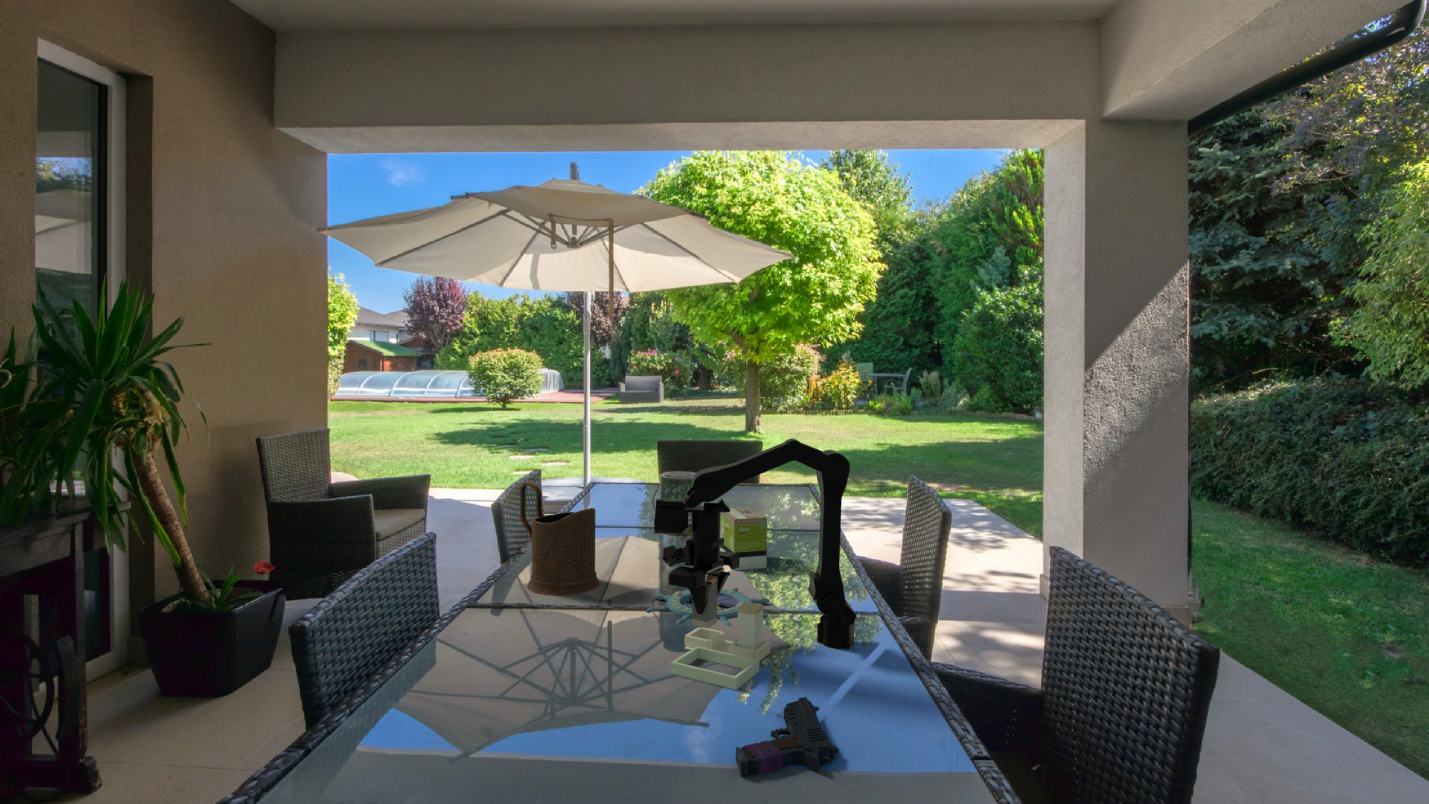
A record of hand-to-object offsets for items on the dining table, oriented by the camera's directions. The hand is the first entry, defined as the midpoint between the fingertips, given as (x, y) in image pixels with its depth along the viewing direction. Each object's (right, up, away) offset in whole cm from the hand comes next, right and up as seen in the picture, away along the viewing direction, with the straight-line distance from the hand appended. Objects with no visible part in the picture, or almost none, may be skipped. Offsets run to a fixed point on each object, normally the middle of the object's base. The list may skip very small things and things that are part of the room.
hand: (704, 611), depth 151 cm
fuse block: (+4, -8, -2) cm, 9 cm away
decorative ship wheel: (+1, -7, +25) cm, 26 cm away
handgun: (+12, -10, -36) cm, 39 cm away
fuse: (+9, -7, -5) cm, 12 cm away
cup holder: (-39, -5, +44) cm, 59 cm away
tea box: (+10, -5, +66) cm, 67 cm away
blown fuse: (0, -3, 0) cm, 2 cm away
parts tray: (+2, -8, -13) cm, 16 cm away
